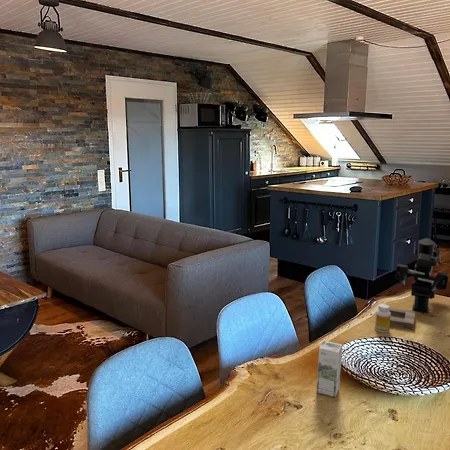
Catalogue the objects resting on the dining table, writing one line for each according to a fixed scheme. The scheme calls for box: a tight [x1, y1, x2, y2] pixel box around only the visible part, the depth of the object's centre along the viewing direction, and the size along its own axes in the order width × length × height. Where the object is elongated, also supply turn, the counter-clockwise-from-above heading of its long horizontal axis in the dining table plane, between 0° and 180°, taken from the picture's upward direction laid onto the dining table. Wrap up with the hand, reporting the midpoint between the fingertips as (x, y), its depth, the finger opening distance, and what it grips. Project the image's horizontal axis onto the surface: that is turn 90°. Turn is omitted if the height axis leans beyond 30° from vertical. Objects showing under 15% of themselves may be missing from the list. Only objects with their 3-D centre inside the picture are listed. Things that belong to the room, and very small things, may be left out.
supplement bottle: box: [374, 303, 391, 333], centre depth 180 cm, size 5×5×10 cm
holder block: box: [377, 306, 416, 331], centre depth 190 cm, size 14×14×2 cm
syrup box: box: [315, 340, 343, 398], centre depth 137 cm, size 6×6×14 cm
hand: (418, 287), depth 176 cm, fingers open, 9 cm apart
